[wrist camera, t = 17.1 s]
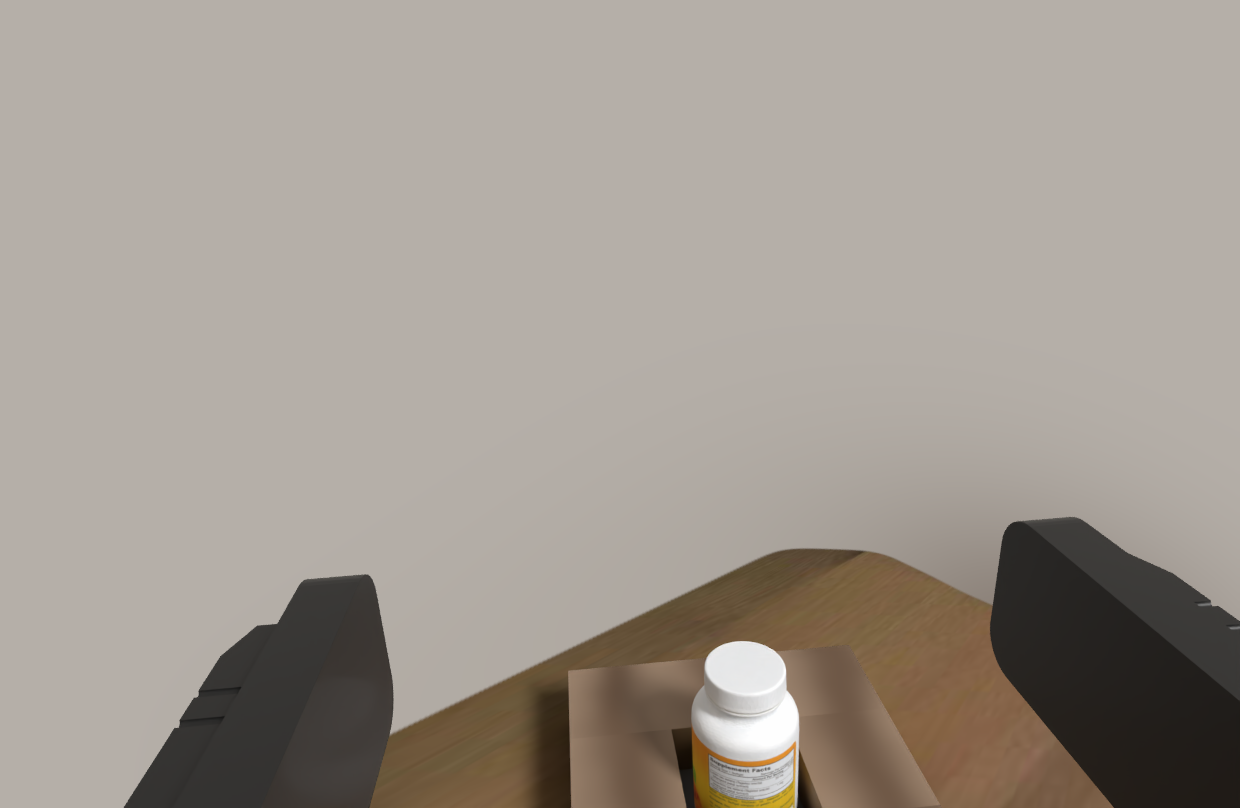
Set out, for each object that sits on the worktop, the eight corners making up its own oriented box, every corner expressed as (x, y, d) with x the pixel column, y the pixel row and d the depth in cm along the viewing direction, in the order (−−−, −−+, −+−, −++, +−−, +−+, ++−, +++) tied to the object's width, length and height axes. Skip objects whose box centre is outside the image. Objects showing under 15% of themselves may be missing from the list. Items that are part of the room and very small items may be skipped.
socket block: (581, 1032, 32) (574, 967, 31) (572, 721, 49) (568, 670, 48) (993, 983, 33) (1005, 918, 32) (845, 695, 50) (848, 644, 49)
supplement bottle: (710, 763, 44) (707, 622, 40) (805, 789, 42) (809, 643, 38) (681, 841, 39) (674, 689, 36) (785, 874, 37) (788, 716, 34)
